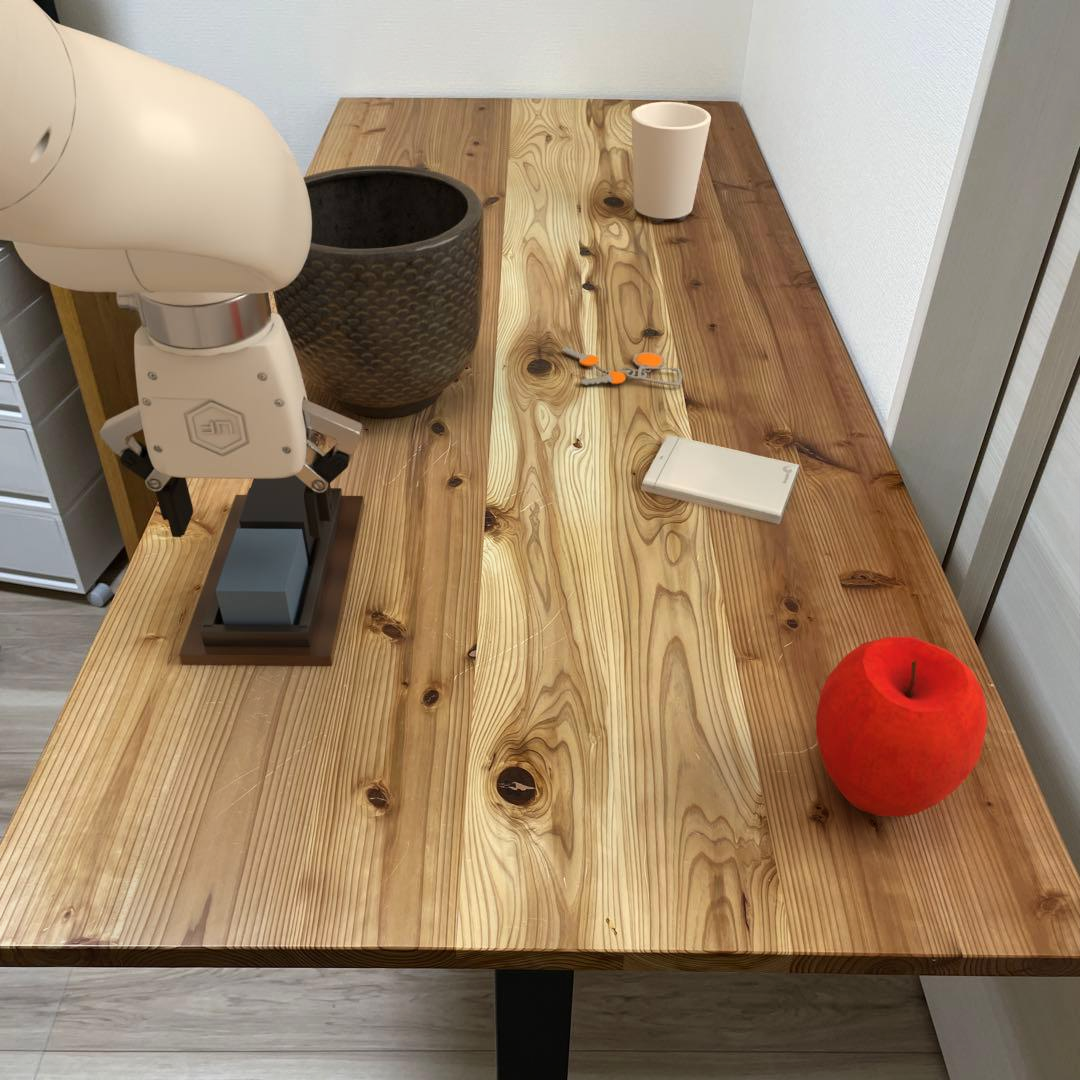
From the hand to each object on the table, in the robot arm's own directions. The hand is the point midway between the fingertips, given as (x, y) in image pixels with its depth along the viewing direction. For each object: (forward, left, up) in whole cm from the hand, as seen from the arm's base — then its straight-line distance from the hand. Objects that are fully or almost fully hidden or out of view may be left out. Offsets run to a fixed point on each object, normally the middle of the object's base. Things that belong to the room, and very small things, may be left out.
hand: (251, 525), depth 76 cm
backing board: (+4, +2, -9) cm, 10 cm away
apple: (+5, -45, -9) cm, 47 cm away
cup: (+84, +2, -9) cm, 85 cm away
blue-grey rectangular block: (0, 0, -8) cm, 8 cm away
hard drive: (+33, -25, -10) cm, 42 cm away
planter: (+31, +10, -9) cm, 34 cm away
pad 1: (+7, +4, -8) cm, 11 cm away
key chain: (+45, -9, -9) cm, 47 cm away
